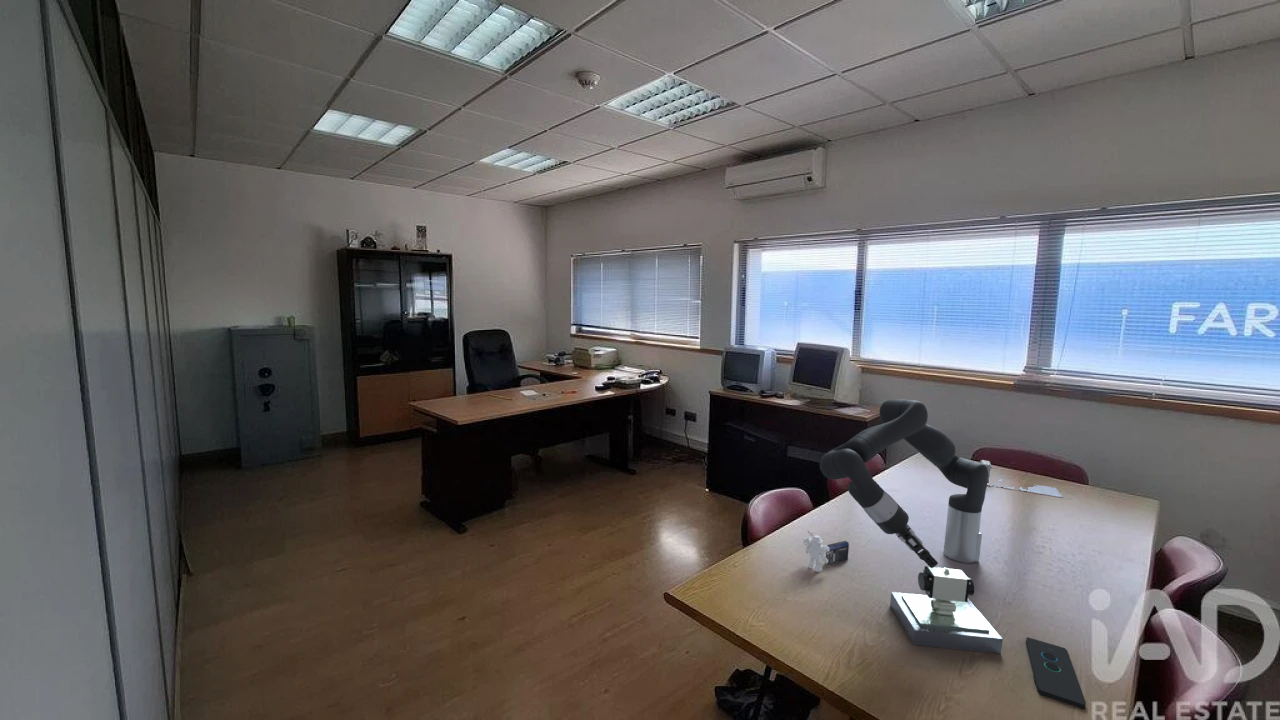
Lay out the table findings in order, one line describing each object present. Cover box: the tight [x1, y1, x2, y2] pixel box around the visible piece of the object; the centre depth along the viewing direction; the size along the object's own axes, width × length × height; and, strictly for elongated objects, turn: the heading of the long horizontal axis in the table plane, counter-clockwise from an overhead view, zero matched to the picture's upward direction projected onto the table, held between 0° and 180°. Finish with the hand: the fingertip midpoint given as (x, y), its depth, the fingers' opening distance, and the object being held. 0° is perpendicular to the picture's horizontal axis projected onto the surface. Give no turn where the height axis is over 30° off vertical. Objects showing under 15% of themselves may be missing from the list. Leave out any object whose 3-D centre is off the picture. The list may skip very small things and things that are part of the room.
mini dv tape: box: [825, 540, 850, 565], centre depth 161 cm, size 8×2×6 cm, turn 114°
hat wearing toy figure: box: [803, 530, 830, 573], centre depth 156 cm, size 9×4×12 cm, turn 35°
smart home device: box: [1025, 637, 1087, 710], centre depth 114 cm, size 8×2×20 cm
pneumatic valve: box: [917, 565, 975, 616], centre depth 128 cm, size 6×12×12 cm, turn 80°
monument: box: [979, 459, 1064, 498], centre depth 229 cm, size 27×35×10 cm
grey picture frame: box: [889, 591, 1003, 655], centre depth 129 cm, size 20×16×5 cm
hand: (927, 556), depth 127 cm, fingers open, 8 cm apart
